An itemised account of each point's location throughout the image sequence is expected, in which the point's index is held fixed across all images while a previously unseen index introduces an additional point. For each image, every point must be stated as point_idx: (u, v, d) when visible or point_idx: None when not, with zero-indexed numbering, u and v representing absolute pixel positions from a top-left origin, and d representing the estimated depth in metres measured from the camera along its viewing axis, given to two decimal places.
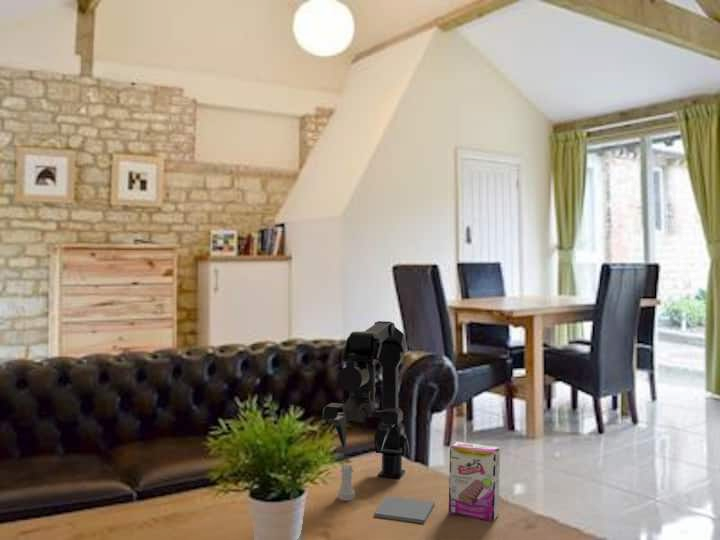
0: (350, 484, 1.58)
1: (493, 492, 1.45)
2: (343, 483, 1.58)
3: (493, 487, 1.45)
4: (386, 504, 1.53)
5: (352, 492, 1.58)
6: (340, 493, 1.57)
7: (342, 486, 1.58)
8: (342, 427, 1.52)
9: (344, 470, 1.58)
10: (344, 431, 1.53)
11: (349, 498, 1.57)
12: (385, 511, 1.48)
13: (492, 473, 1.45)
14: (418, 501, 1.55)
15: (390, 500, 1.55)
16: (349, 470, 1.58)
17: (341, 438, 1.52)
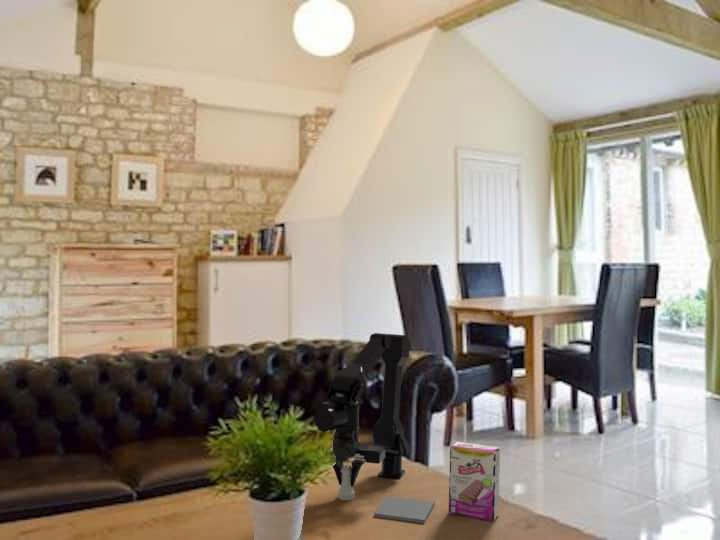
0: (350, 484, 1.58)
1: (493, 492, 1.45)
2: (343, 483, 1.58)
3: (493, 487, 1.45)
4: (386, 504, 1.53)
5: (352, 492, 1.58)
6: (340, 493, 1.57)
7: (342, 486, 1.58)
8: (339, 465, 1.59)
9: (344, 470, 1.58)
10: None
11: (349, 498, 1.57)
12: (385, 511, 1.48)
13: (492, 473, 1.45)
14: (418, 501, 1.55)
15: (390, 500, 1.55)
16: (349, 470, 1.58)
17: (338, 476, 1.59)
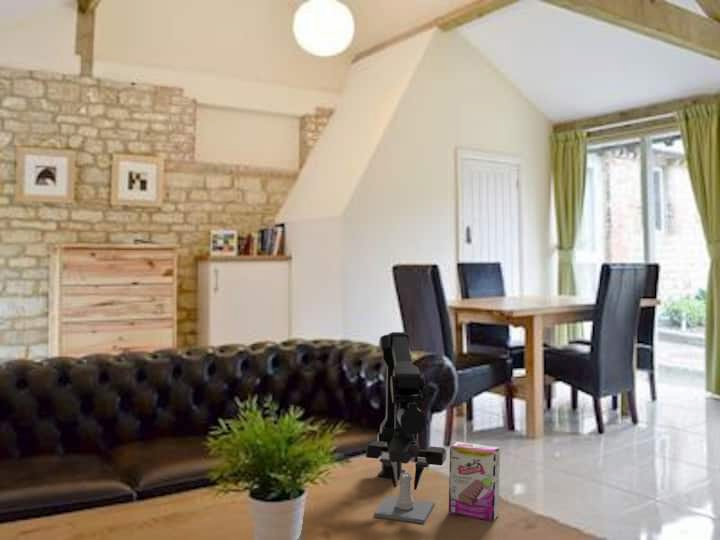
0: (409, 492, 1.50)
1: (493, 492, 1.45)
2: (402, 491, 1.50)
3: (493, 487, 1.45)
4: (386, 504, 1.53)
5: (411, 501, 1.50)
6: (399, 502, 1.50)
7: (401, 494, 1.50)
8: (394, 467, 1.51)
9: (403, 478, 1.50)
10: (395, 470, 1.52)
11: (408, 507, 1.49)
12: (385, 511, 1.48)
13: (492, 473, 1.45)
14: (418, 501, 1.55)
15: (390, 500, 1.55)
16: (408, 478, 1.50)
17: (393, 478, 1.51)
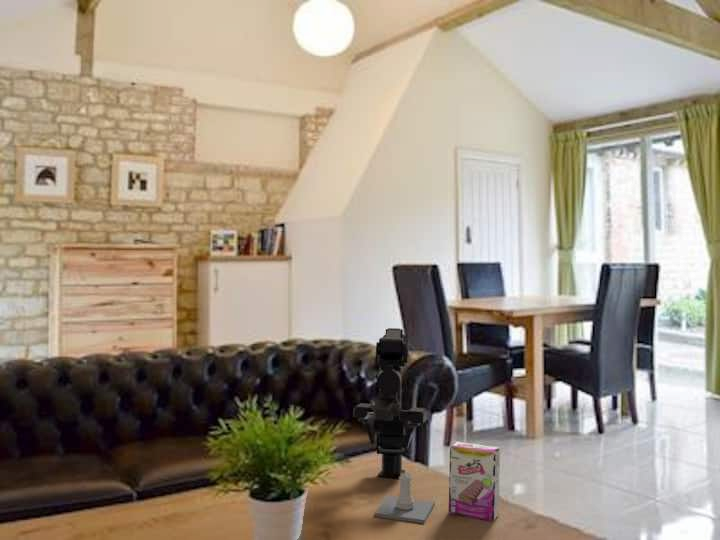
0: (409, 492, 1.50)
1: (493, 492, 1.45)
2: (402, 491, 1.50)
3: (493, 487, 1.45)
4: (386, 504, 1.53)
5: (411, 501, 1.50)
6: (399, 502, 1.50)
7: (401, 494, 1.50)
8: (371, 425, 1.65)
9: (403, 478, 1.50)
10: (373, 429, 1.66)
11: (409, 507, 1.49)
12: (385, 511, 1.48)
13: (492, 473, 1.45)
14: (418, 501, 1.55)
15: (390, 500, 1.55)
16: (408, 478, 1.50)
17: (370, 436, 1.64)
